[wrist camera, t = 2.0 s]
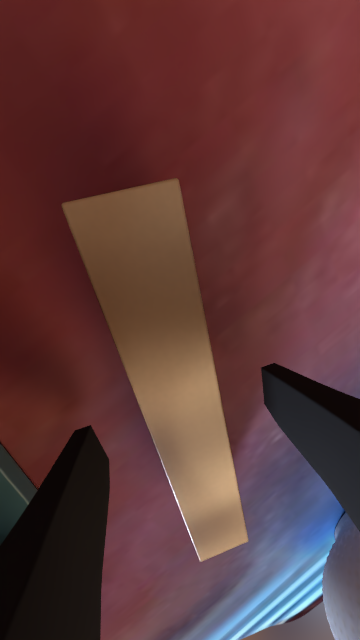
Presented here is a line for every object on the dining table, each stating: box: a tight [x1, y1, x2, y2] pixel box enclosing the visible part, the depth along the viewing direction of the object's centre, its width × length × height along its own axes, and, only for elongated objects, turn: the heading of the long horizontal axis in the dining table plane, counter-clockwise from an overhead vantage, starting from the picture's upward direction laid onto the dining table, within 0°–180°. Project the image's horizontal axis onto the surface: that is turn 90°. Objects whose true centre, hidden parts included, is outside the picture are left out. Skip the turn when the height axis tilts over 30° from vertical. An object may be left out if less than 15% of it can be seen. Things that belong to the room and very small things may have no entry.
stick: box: [62, 178, 248, 562], centre depth 9 cm, size 16×3×3 cm, turn 13°
